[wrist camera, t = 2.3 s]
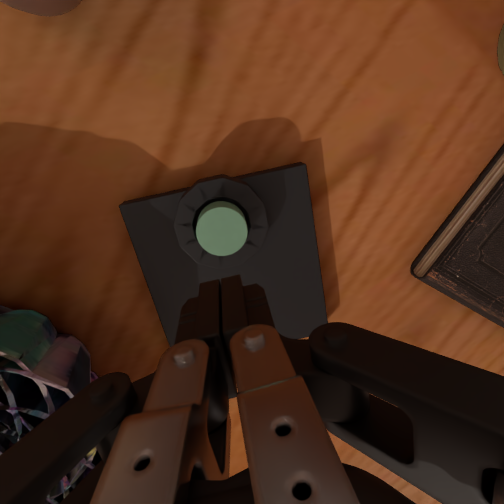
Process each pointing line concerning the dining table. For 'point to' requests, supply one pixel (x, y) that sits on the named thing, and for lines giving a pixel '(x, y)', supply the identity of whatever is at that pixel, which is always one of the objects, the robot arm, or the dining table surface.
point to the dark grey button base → (246, 258)
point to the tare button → (221, 228)
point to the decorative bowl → (40, 382)
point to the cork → (501, 50)
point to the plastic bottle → (43, 6)
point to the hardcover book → (471, 248)
